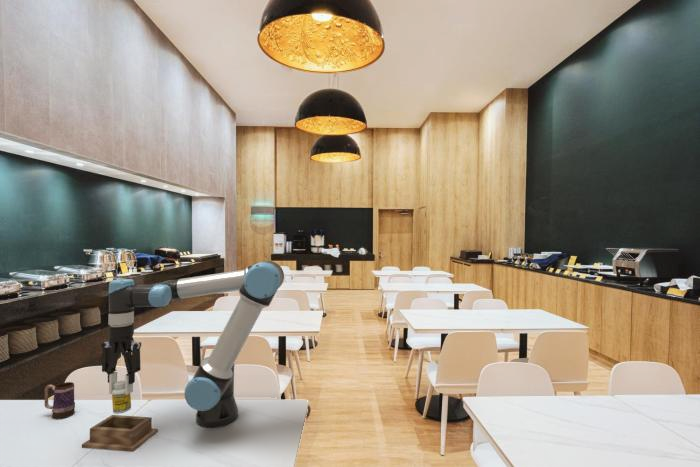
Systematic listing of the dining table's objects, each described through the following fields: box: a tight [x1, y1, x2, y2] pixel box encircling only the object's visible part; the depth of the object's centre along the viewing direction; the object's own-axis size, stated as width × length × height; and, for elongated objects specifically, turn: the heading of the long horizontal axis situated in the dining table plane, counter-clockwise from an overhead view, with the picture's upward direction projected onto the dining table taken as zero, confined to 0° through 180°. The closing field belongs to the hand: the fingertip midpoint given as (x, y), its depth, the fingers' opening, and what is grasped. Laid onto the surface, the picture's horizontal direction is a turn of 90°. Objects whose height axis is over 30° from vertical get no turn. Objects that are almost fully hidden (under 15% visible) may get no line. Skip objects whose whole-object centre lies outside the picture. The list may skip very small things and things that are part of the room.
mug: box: [43, 381, 76, 420], centre depth 146 cm, size 10×7×12 cm
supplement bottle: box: [111, 380, 132, 415], centre depth 130 cm, size 5×5×10 cm
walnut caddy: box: [81, 414, 159, 452], centre depth 129 cm, size 18×13×6 cm
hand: (121, 392), depth 130 cm, fingers closed on supplement bottle, 5 cm apart
